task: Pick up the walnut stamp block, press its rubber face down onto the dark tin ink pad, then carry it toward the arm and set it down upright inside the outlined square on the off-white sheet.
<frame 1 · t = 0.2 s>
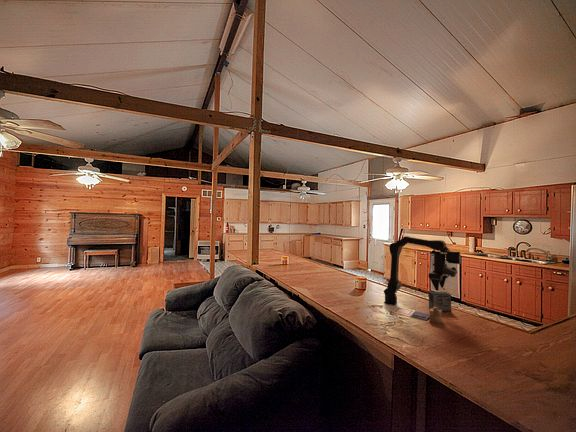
hand: (439, 289, 149), 14 cm above the bar counter, fingers open, 9 cm apart
print sheet: (403, 311, 153), on the bar counter
small box: (439, 310, 156), on the bar counter
stamp: (435, 321, 138), on the bar counter
ink pad: (420, 316, 145), on the bar counter
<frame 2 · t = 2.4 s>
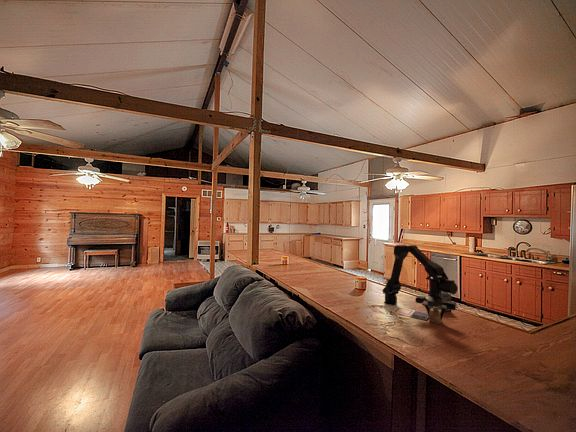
hand: (435, 318, 138), 2 cm above the bar counter, fingers closed on stamp, 5 cm apart
stamp: (435, 321, 138), on the bar counter, touching gripper
everything else where it was.
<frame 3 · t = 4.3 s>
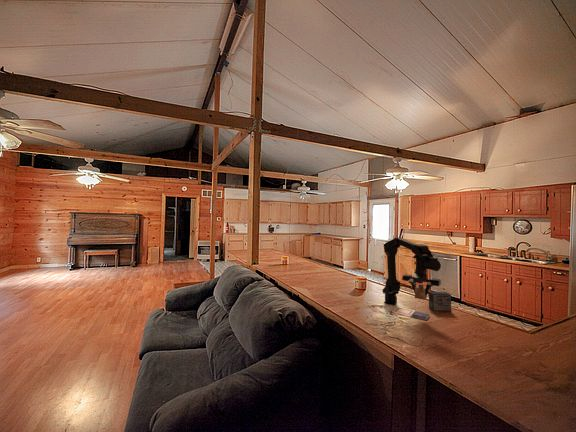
hand: (420, 295, 145), 12 cm above the bar counter, fingers closed on stamp, 5 cm apart
stamp: (420, 297, 145), point 11 cm above the bar counter, touching gripper
everything else where it was.
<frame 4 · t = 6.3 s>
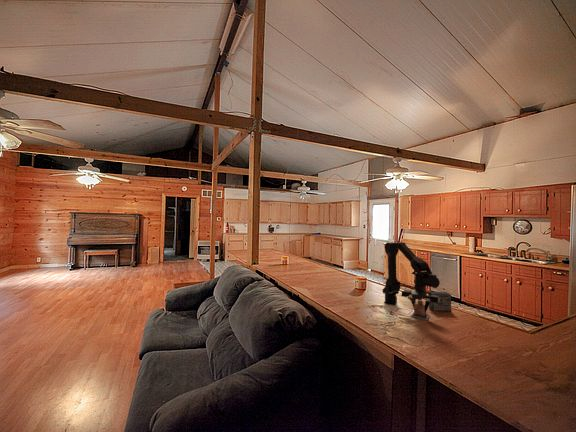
hand: (420, 311, 145), 3 cm above the bar counter, fingers closed on stamp, 5 cm apart
stamp: (420, 314, 145), point 1 cm above the bar counter, touching gripper, ink pad
everything else where it was.
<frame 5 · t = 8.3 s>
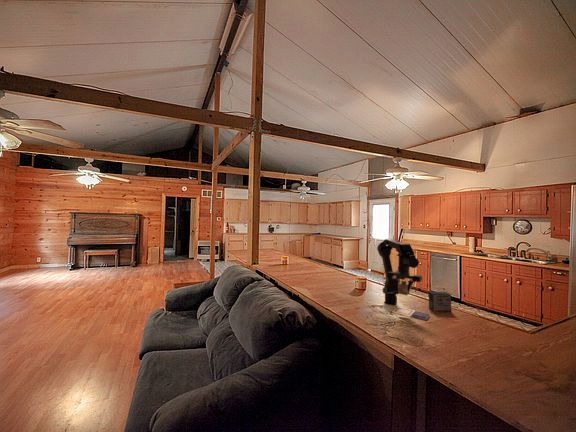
hand: (403, 290, 153), 12 cm above the bar counter, fingers closed on stamp, 5 cm apart
stamp: (403, 293, 153), point 11 cm above the bar counter, touching gripper
everything else where it was.
when the fingers open (3 cm above the bar counter, at t = 10.3 s): stamp drops 1 cm, resting on print sheet.
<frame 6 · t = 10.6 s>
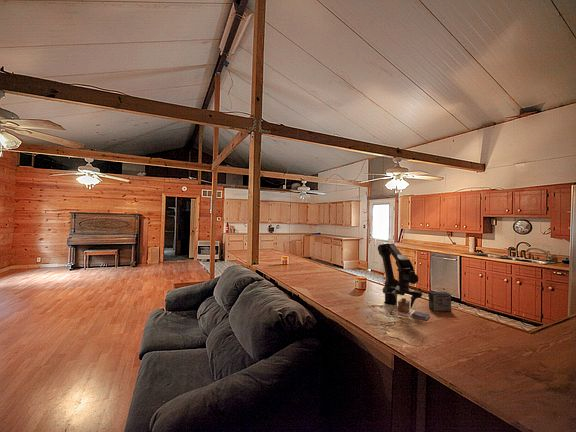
hand: (403, 306, 153), 3 cm above the bar counter, fingers open, 8 cm apart
stamp: (403, 311, 153), resting on print sheet
everything else where it was.
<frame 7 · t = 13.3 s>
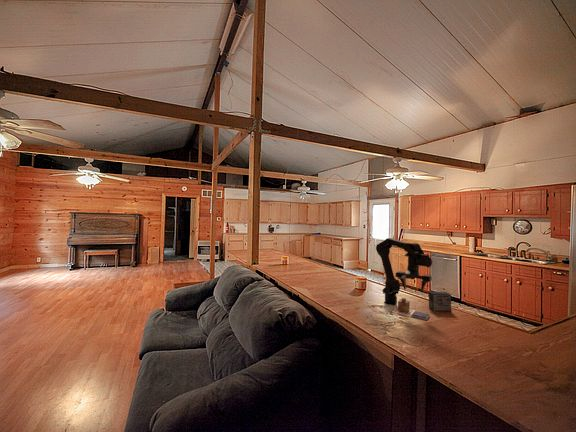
hand: (413, 290, 152), 12 cm above the bar counter, fingers open, 9 cm apart
nothing on the bar counter moved.
at the end: stamp inside the target area on the print sheet (0.0 cm from its centre), point 0.3 cm above the print sheet's base; stamp tilted 0°; the gripper is holding nothing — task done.
